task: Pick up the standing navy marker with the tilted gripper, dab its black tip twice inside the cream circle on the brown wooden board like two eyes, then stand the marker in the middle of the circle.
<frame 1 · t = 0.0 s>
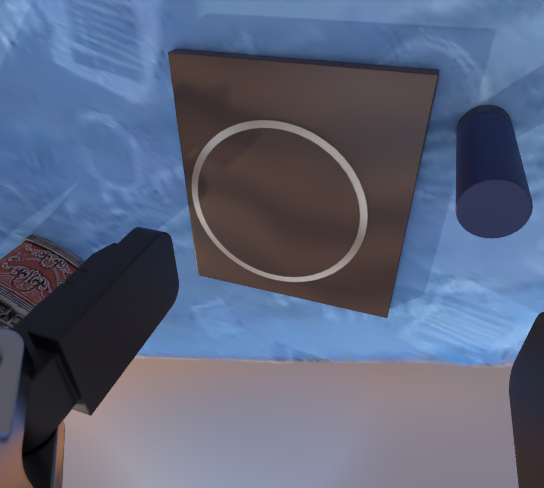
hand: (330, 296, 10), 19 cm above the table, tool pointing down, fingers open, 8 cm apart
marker: (483, 129, 25), on the table
brown wooden board: (293, 192, 31), on the table
lighter: (63, 258, 45), on the table
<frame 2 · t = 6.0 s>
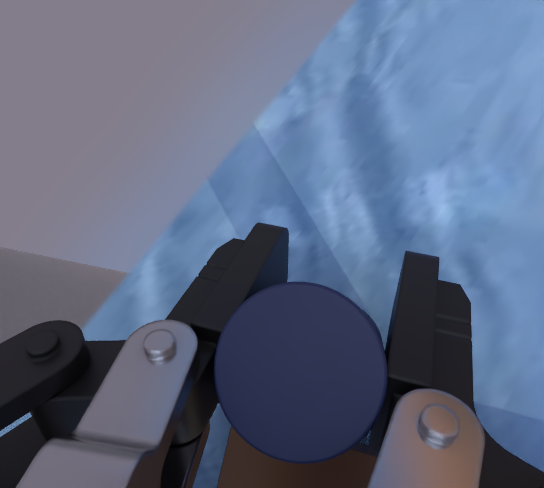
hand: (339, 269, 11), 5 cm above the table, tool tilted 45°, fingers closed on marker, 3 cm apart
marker: (341, 344, 16), on the table, touching gripper
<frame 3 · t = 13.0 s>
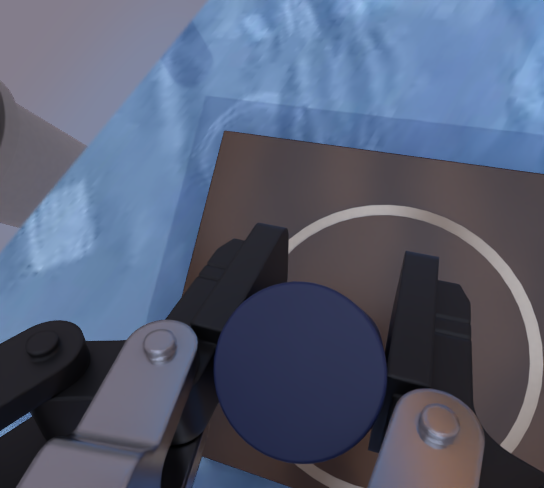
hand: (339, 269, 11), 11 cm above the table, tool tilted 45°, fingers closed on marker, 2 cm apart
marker: (341, 344, 16), point 6 cm above the table, touching gripper
brown wooden board: (363, 318, 21), on the table
when the fingers open (7 cm above the table, at t = 20.3 s): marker stays where it is, resting on brown wooden board.
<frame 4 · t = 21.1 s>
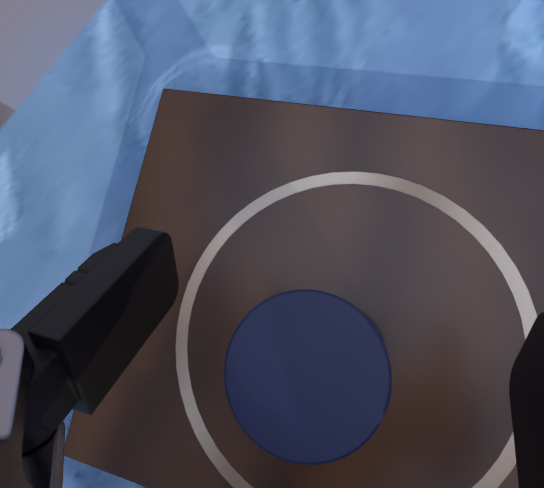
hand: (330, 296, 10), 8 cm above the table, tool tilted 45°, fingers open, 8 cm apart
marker: (344, 347, 16), point 1 cm above the table, touching brown wooden board
brown wooden board: (324, 311, 17), on the table
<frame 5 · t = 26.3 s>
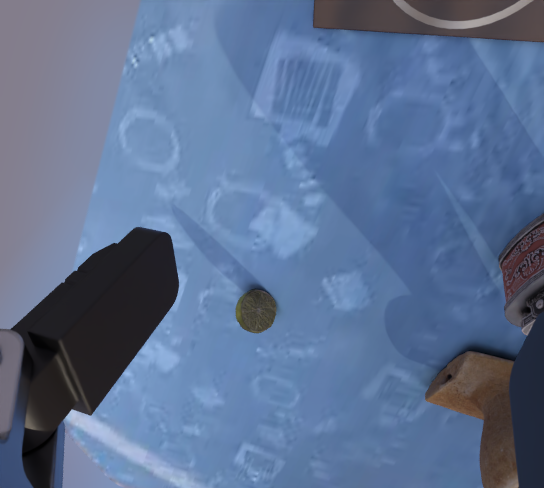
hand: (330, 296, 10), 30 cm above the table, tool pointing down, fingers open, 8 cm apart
stone cup: (509, 375, 49), on the table
lighter: (537, 238, 39), on the table
lime: (262, 297, 55), on the table
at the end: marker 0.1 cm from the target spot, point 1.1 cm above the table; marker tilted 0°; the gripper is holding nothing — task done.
